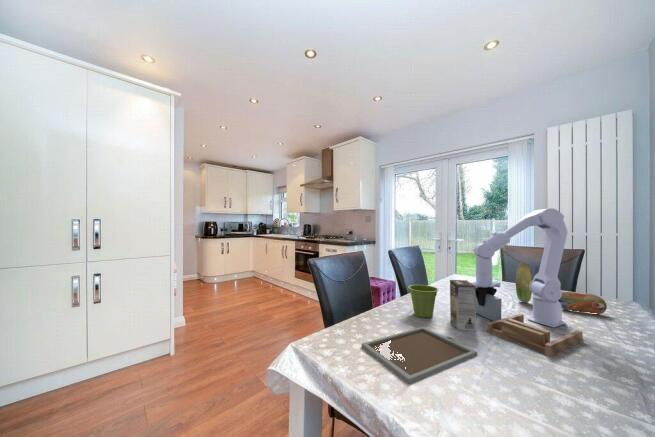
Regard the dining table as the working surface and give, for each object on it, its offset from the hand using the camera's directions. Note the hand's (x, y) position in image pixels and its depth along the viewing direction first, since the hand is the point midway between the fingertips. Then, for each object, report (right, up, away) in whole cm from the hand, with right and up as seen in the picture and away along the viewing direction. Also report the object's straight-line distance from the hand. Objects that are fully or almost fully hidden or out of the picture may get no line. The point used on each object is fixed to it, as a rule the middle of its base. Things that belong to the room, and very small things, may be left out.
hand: (484, 305), depth 98 cm
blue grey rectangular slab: (0, -4, 0) cm, 4 cm away
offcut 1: (-2, -4, -21) cm, 21 cm away
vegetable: (+31, -5, +17) cm, 35 cm away
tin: (+45, -5, +5) cm, 46 cm away
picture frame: (-37, -4, -27) cm, 46 cm away
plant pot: (-25, -5, +1) cm, 26 cm away
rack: (+4, -4, -18) cm, 19 cm away
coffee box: (-14, -4, -9) cm, 18 cm away
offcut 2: (+2, -4, -19) cm, 20 cm away
